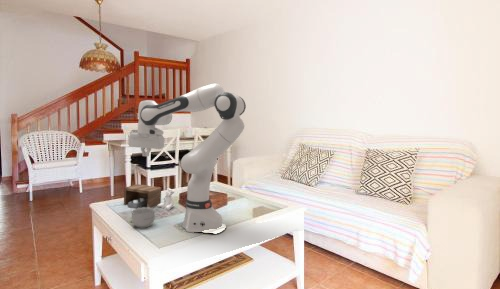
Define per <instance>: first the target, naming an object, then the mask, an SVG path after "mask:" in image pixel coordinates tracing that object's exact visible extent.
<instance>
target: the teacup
mask: <svg viewBox="0 0 500 289" xmlns="http://www.w3.org/2000/svg"><path fill="white" fill-rule="evenodd" d="M155 212H156V209H154V207H152V208H150V207H147V206H146V207H140V208H137V209H135V208H134V209H132V211H131V223H132V225H134V226H135V227H136V228H138V229H143V228H148V227H150V226H151V225H152V224H153V223H154V221H155Z"/></svg>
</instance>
